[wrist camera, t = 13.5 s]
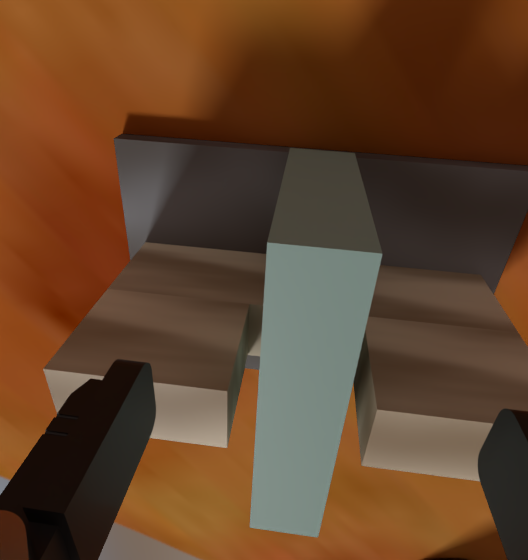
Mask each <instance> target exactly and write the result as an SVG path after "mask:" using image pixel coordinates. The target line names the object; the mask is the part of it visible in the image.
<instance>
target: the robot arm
mask: <svg viewBox="0 0 528 560" xmlns="http://www.w3.org/2000/svg"><path fill="white" fill-rule="evenodd" d="M155 417H156V401H155V393H154V384H153V376H152V368H151V365H150V363H147V362H139V361H131V360H123V359H117V360H115V361H114V362H113V364H112V365H111V367H110V368H109V370H108V371H107V373H106V375H105V376H104V378H103V379H102V380H99V379H89V380H88V381H87V382H85V383H84V384H83V385H82V386H80V387H79V388H78V389H76V390H75V391H74V392H72V393H71V394H70V396H69V397H68V398H67V400H66V401H65V403H64V404H63V406H62V407H61V408H60V410H59V411H58V413H57V417H56V418H55V417H54V419H53V420H52V421H51V423H50V424H49V426H48V427H47V429H46V432H45V434H42V436H41V437H40V439H39V440H38V442H37V443H36V445H35V446H34V447H33V449H32V450H31V452H30V453H29V455H28V456H27V457H26V459H25V460H24V462H23V463H22V465H21V466H20V468H19V469H18V470H17V472H16V473H15V475H14V476H13V478H12V479H11V481H10V482H9V484H8V485H7V486H6V488H5V490H4V491H3V492H2V494H1V495H0V560H98V558H99V556H100V553H101V551H102V549H103V546H104V544H105V542H106V539H107V537H108V534H109V532H110V530H111V527H112V525H113V523H114V520H115V518H116V516H117V513H118V511H119V509H120V506H121V504H122V502H123V499H124V497H125V495H126V492H127V490H128V487H129V485H130V483H131V480H132V478H133V476H134V473H135V471H136V469H137V466H138V464H139V462H140V459H141V457H142V454H143V452H144V450H145V447H146V445H147V443H148V440H149V438H150V436H151V433H152V430H153V427H154V423H155ZM478 474H479V479H480V482H481V485H482V488H483V491H484V494H485V496H486V499H487V502H488V505H489V508H490V511H491V513H492V516H493V519H494V522H495V525H496V528H497V531H498V533H499V536H500V539H501V542H502V545H503V548H504V550H505V553H506V556H507V559H508V560H528V411H521V410H513V409H502V410H501V411H500V412H499V414H498V416H497V418H496V420H495V422H494V424H493V426H492V428H491V430H490V432H489V434H488V436H487V438H486V440H485V442H484V444H483V446H482V448H481V450H480V452H479V456H478Z"/></svg>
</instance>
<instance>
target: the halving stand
mask: <svg viewBox="0 0 528 560" xmlns="http://www.w3.org/2000/svg"><path fill="white" fill-rule="evenodd" d="M114 144H115V151H116V159H117V166H118V173H119V180H120V188H121V195H122V202H123V209H124V217H125V224H126V231H127V239H128V246H129V253H130V260H131V261H130V262H129V263H128V264H127V266H126V267H125V268H124V269H123V271H122V272H121V273H120V274H119V276H118V277H117V278H116V279H115V281H114V282H113V283H112V284H111V285H110V287H109V288H108V289H107V290H106V292H105V293H104V294H103V295H102V297H101V298H100V299H99V300H98V302H97V303H96V304H95V305H94V307H93V308H92V309H91V310H90V312H89V313H88V314H87V315H86V317H85V318H84V319H83V320H82V321H81V323H80V324H79V325H78V326H77V328H76V329H75V330H74V331H73V333H72V334H71V335H70V336H69V338H68V339H67V340H66V341H65V343H64V344H63V345H62V346H61V348H60V349H59V350H58V351H57V353H56V354H55V355H54V356H53V358H52V359H51V360H50V361H49V362H48V364H47V365H46V366H45V367H44V369H43V370H44V373H45V376H46V379H47V382H48V386H49V389H50V392H51V395H52V398H53V402H54V405H55V408H56V411H57V413H58V411H59V410H60V408H61V407H62V406H63V404H64V403H65V401H66V400H67V398H68V397H69V396H70V394H71V393H72V392H74V391H75V390H76V389H78V388H79V387H80V386H82V385H83V384H84V383H85V382H87V381H88V380H89V379H99V380H102V379H103V378H104V376H105V375H106V373H107V371H108V370H109V368H110V367H111V365H112V364H113V362H114V361H115V360H117V359H123V360H131V361H139V362H147V363H150V365H151V368H152V376H153V384H154V393H155V401H156V417H155V423H154V427H153V430H152V433H151V436H150V438H155V439H163V440H170V441H178V442H185V443H193V444H201V445H208V446H216V447H223V448H227V446H228V442H229V437H230V432H231V428H232V423H233V419H234V414H235V410H236V405H237V401H238V396H239V391H240V387H241V382H242V378H243V373H244V369H245V368H250V369H258V370H259V369H260V352H261V336H262V320H263V303H264V287H265V270H266V254H267V241H268V237H269V233H270V229H271V225H272V221H273V216H274V212H275V208H276V204H277V200H278V196H279V192H280V188H281V183H282V179H283V175H284V171H285V167H286V163H287V159H288V154H289V150H290V148H296V147H283V146H270V145H257V144H245V143H232V142H219V141H206V140H194V139H181V138H168V137H156V136H143V135H130V134H121V135H119V136H117V137H115V138H114ZM298 149H308V148H298ZM310 150H321V149H310ZM323 151H334V150H323ZM335 152H347V151H335ZM348 153H355V156H356V159H357V163H358V166H359V170H360V174H361V177H362V181H363V185H364V188H365V192H366V195H367V199H368V203H369V206H370V210H371V214H372V217H373V221H374V224H375V228H376V232H377V235H378V239H379V243H380V246H381V250H382V253H383V254H382V258H381V263H380V267H379V272H378V276H377V280H376V285H375V289H374V294H373V298H372V302H371V307H370V311H369V316H368V320H367V324H366V329H365V333H364V338H363V342H362V346H361V351H360V355H359V359H358V364H357V368H356V373H355V377H354V391H355V402H356V412H357V423H358V433H359V444H360V454H361V465H362V466H368V467H376V468H383V469H391V470H398V471H406V472H414V473H421V474H429V475H436V476H444V477H452V478H459V479H467V480H474V481H480V479H479V474H478V456H479V452H480V450H481V448H482V446H483V444H484V442H485V440H486V438H487V436H488V434H489V432H490V430H491V428H492V426H493V424H494V422H495V420H496V418H497V416H498V414H499V412H500V411H501V410H502V409H513V410H521V411H528V347H527V345H526V344H525V342H524V341H523V339H522V338H521V336H520V335H519V333H518V331H517V330H516V328H515V327H514V325H513V324H512V322H511V321H510V319H509V318H508V316H507V314H506V313H505V311H504V310H503V308H502V307H501V305H500V304H499V302H498V301H497V299H496V297H495V296H494V292H495V289H496V287H497V285H498V282H499V280H500V277H501V275H502V272H503V270H504V267H505V265H506V263H507V260H508V258H509V255H510V253H511V250H512V248H513V245H514V243H515V240H516V238H517V236H518V233H519V231H520V228H521V226H522V223H523V221H524V218H525V216H526V213H527V211H528V166H525V165H512V164H499V163H487V162H474V161H461V160H449V159H436V158H423V157H410V156H398V155H385V154H372V153H359V152H348Z"/></svg>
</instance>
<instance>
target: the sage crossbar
mask: <svg viewBox="0 0 528 560" xmlns="http://www.w3.org/2000/svg"><path fill="white" fill-rule="evenodd" d="M382 254H383V253H382V250H381V246H380V243H379V239H378V235H377V232H376V228H375V224H374V221H373V217H372V214H371V210H370V206H369V203H368V199H367V195H366V192H365V188H364V185H363V181H362V177H361V174H360V170H359V166H358V163H357V159H356V156H355V153H348V152H335V151H323V150H310V149H298V148H290V150H289V154H288V159H287V163H286V167H285V171H284V175H283V179H282V183H281V188H280V192H279V196H278V200H277V204H276V208H275V212H274V216H273V221H272V225H271V229H270V233H269V237H268V241H267V254H266V270H265V287H264V303H263V320H262V336H261V352H260V369H259V385H258V401H257V418H256V434H255V451H254V467H253V483H252V500H251V516H250V528H257V529H264V530H271V531H277V532H284V533H291V534H298V535H305V536H312V537H318V535H319V531H320V527H321V522H322V518H323V513H324V509H325V505H326V500H327V496H328V491H329V487H330V483H331V478H332V474H333V469H334V465H335V461H336V456H337V452H338V447H339V443H340V439H341V434H342V430H343V425H344V421H345V417H346V412H347V408H348V403H349V399H350V395H351V390H352V386H353V381H354V377H355V373H356V368H357V364H358V359H359V355H360V351H361V346H362V342H363V338H364V333H365V329H366V324H367V320H368V316H369V311H370V307H371V302H372V298H373V294H374V289H375V285H376V280H377V276H378V272H379V267H380V263H381V258H382Z"/></svg>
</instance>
